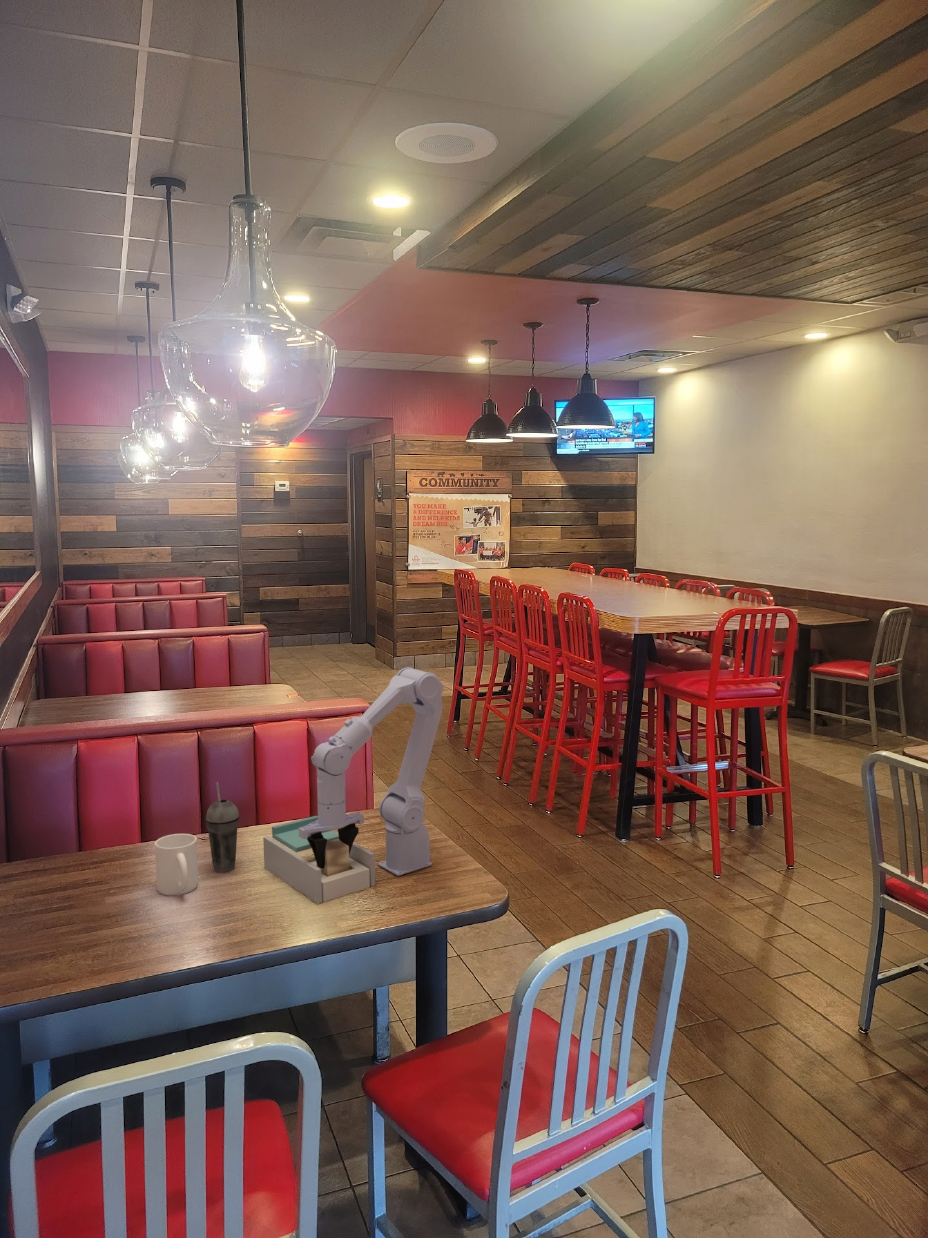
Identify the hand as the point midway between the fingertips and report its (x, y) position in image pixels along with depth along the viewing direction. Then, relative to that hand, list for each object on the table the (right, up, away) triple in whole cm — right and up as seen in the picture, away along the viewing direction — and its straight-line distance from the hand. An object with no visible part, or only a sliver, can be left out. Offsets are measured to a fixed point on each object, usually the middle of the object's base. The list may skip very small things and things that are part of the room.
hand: (332, 863), depth 181 cm
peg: (0, -2, 0) cm, 2 cm away
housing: (-4, -4, +5) cm, 8 cm away
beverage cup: (-25, -4, +10) cm, 27 cm away
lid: (-7, +3, +8) cm, 11 cm away
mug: (-32, -6, -2) cm, 32 cm away
